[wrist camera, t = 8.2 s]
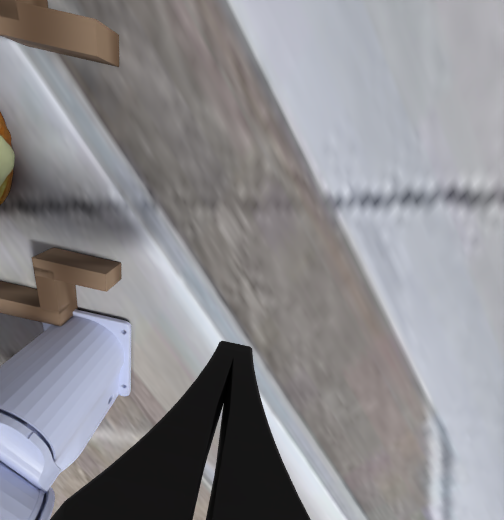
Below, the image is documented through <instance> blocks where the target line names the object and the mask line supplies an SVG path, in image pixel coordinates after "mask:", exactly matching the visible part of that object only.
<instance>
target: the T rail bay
mask: <svg viewBox="0 0 504 520" xmlns="http://www.w3.org/2000/svg"><path fill="white" fill-rule="evenodd" d="M0 35H1V36H3V37H6V38H8V39H11V40H13V41H16V42H18V43H21V44H24V45H26V46H30V47H34V48H38V49H43V50H47V51H51V52H56V53H60V54H64V55H69V56H73V57H78V58H82V59H86V60H91V61H95V62H99V63H104V64H108V65H112V66H117V67H119V35H118V34H117V33H115V32H114V31H112V30H111V29H109V28H108V27H106V26H105V25H104V24H102V23H101V22H99V21H98V20H96V19H93V18H88V17H84V16H79V15H75V14H71V13H66V12H62V11H58V10H53V9H49V8H48V2H47V0H0ZM32 262H33V267H34V273H35V279H36V285H37V289H34V288H29V287H25V286H20V285H16V284H12V283H7V282H3V281H0V313H4V314H8V315H12V316H17V317H21V318H25V319H30V320H34V321H39V322H43V323H47V324H52V325H56V326H62V325H63V324H64V323H66V322H67V321H68V320H69V319H70V318H72V317H73V311H74V310H75V309H76V310H78V308H77V297H76V287H75V285H79V286H84V287H88V288H93V289H97V290H101V291H106V292H107V291H108V290H109V289H110V288H111V287H113V286H114V285H115V284H116V283H117V282H118V281H120V280H121V263H119V262H115V261H111V260H106V259H102V258H97V257H93V256H89V255H84V254H80V253H76V252H71V251H67V250H62V249H58V248H51V249H49V250H47V251H45V252H43V253H40V254H38V255H36V256H34V257H32Z"/></svg>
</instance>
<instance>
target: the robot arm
mask: <svg viewBox="0 0 504 520" xmlns="http://www.w3.org/2000/svg"><path fill="white" fill-rule="evenodd" d="M42 323H43V322H42ZM43 329H44V332H43V333H41V334H40V335H39V336H38V337H36V338H35V339H34V340H33V341H31V342H30V343H29V344H28V345H26V346H25V347H24V348H23V349H21V350H20V351H19V352H18V353H16V354H15V355H14V356H13V357H11V358H10V359H9V360H8V361H6V362H5V363H4V364H3V365H1V366H0V520H192V519H193V515H194V510H195V506H196V501H197V497H198V493H199V488H200V484H201V479H202V475H203V471H204V467H205V463H206V460H207V456H208V453H209V450H210V446H211V443H212V440H213V436H214V433H215V430H216V426H217V423H218V420H219V416H220V413H221V410H222V407H223V413H222V421H221V429H220V438H219V446H218V454H217V462H216V469H215V475H214V481H213V486H212V491H211V496H210V501H209V506H208V512H207V517H206V520H310V518H309V516H308V514H307V512H306V510H305V508H304V506H303V504H302V502H301V500H300V498H299V496H298V494H297V492H296V490H295V487H294V485H293V483H292V481H291V479H290V477H289V474H288V472H287V470H286V468H285V466H284V463H283V461H282V459H281V456H280V454H279V451H278V449H277V446H276V444H275V441H274V438H273V436H272V433H271V430H270V427H269V425H268V421H267V418H266V415H265V412H264V409H263V405H262V402H261V398H260V394H259V390H258V386H257V381H256V376H255V371H254V365H253V355H252V348H251V347H249V346H244V345H240V344H235V343H230V342H226V341H221V342H219V344H218V347H217V349H216V351H215V352H214V354H213V356H212V357H211V359H210V361H209V362H208V364H207V365H206V367H205V368H204V369H203V371H202V372H201V373H200V375H199V376H198V378H197V379H196V380H195V382H194V383H193V384H192V385H191V386H190V388H189V389H188V390H187V391H186V393H185V394H184V395H183V396H182V397H181V399H180V400H179V401H178V402H177V403H176V404H175V405H174V406H173V408H172V409H171V410H170V411H169V412H168V413H167V414H166V415H165V416H164V417H163V418H162V419H161V420H160V421H159V422H158V423H157V424H156V425H155V426H154V427H153V428H152V429H151V430H150V431H149V432H148V433H147V434H146V435H145V436H144V437H143V438H141V439H140V440H139V441H138V442H137V443H136V444H135V445H134V446H133V447H131V448H130V449H129V450H128V451H127V452H126V453H124V454H123V455H122V456H121V457H120V458H119V459H117V460H116V461H115V462H114V463H113V464H112V465H111V466H109V467H108V468H107V469H106V470H104V471H103V472H102V473H101V474H99V475H98V476H97V477H95V478H94V479H93V480H92V481H90V482H89V483H88V484H86V485H85V486H84V487H83V488H81V489H80V490H79V491H77V492H76V493H75V494H73V495H72V496H71V497H70V498H68V499H67V500H66V501H65V502H64V503H63V504H62V505H61V507H60V508H59V509H58V510H57V512H56V513H55V514H54V515H53V517H52V518H51V519H50V517H51V513H52V510H53V507H54V501H55V493H54V491H53V489H52V488H51V485H52V484H53V482H54V481H55V479H56V478H57V476H58V475H59V473H61V472H62V471H63V470H65V469H66V468H67V467H68V466H70V465H71V464H72V463H73V462H74V461H75V460H76V459H77V458H78V456H79V455H80V454H81V452H82V451H83V450H84V448H85V446H86V445H87V443H88V442H89V440H90V439H91V437H92V435H93V434H94V432H95V431H96V429H97V428H98V426H99V424H100V423H101V421H102V420H103V418H104V417H105V415H106V413H107V412H108V410H109V409H110V407H111V406H112V404H113V402H114V401H115V399H116V398H117V396H118V395H121V396H128V395H129V394H130V391H131V324H130V323H129V322H128V321H125V320H120V319H116V318H112V317H107V316H103V315H98V314H94V313H90V312H85V311H81V310H76V309H75V310H74V311H73V317H72V318H70V319H69V320H68V321H67V322H66V323H64V324H63V325H62V326H56V325H52V324H47V323H43ZM124 330H125V331H124ZM223 403H224V405H223Z"/></svg>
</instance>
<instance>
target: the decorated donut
mask: <svg viewBox="0 0 504 520" xmlns="http://www.w3.org/2000/svg"><path fill="white" fill-rule="evenodd" d="M14 160H15V155H14V152H13V150H12V146H11V135H10V132H9V131H8V129H7V127H6V124H5V121H4V119H3V116H2V114H1V112H0V205H1V204H2V203H3V202H4V201H5V199H6V197H7V195H8V194H9V192H10V188H11V183H12V178H13V167H14Z"/></svg>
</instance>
